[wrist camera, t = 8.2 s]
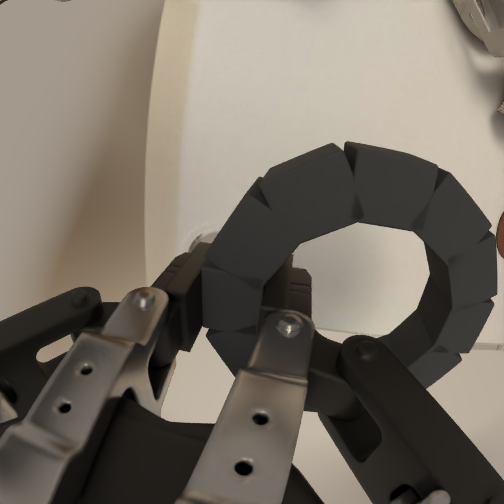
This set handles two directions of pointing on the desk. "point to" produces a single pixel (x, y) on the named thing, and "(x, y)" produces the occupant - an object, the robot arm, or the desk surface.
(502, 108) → the seashell
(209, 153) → the desk surface
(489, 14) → the cable organizer
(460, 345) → the dark grey segmented ring
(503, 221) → the round brown coaster
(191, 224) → the desk surface
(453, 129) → the desk surface
